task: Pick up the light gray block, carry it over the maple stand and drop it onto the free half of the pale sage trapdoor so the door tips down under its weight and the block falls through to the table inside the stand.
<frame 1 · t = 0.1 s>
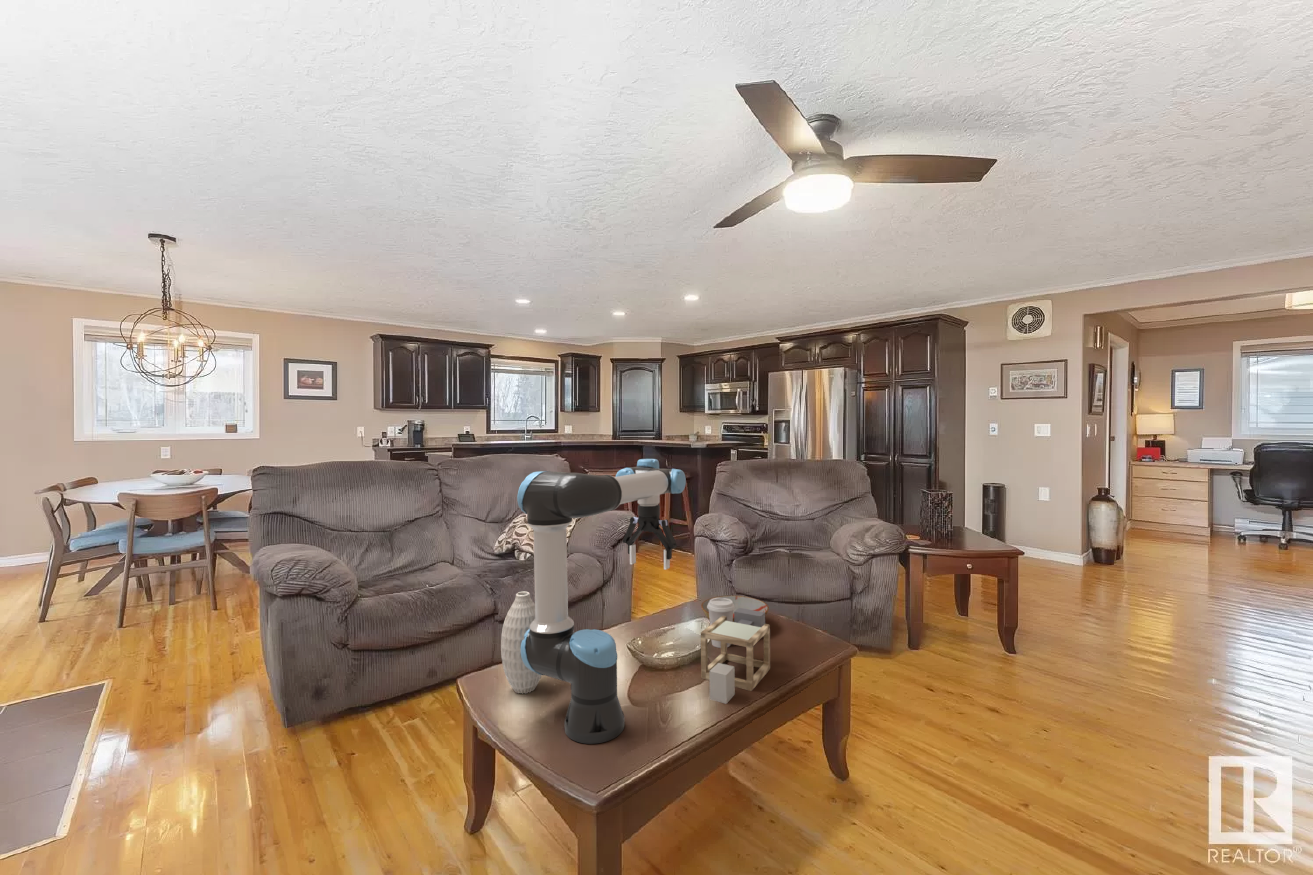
hand: (649, 566, 188), 28 cm above the table, fingers open, 13 cm apart
maple stand: (736, 673, 169), on the table
bowl: (734, 627, 207), on the table
trapdoor: (740, 627, 172), point 13 cm above the table, hinge at 0.0°
coffee cup: (721, 644, 191), on the table
vase: (524, 689, 161), on the table
light gray block: (722, 696, 155), on the table
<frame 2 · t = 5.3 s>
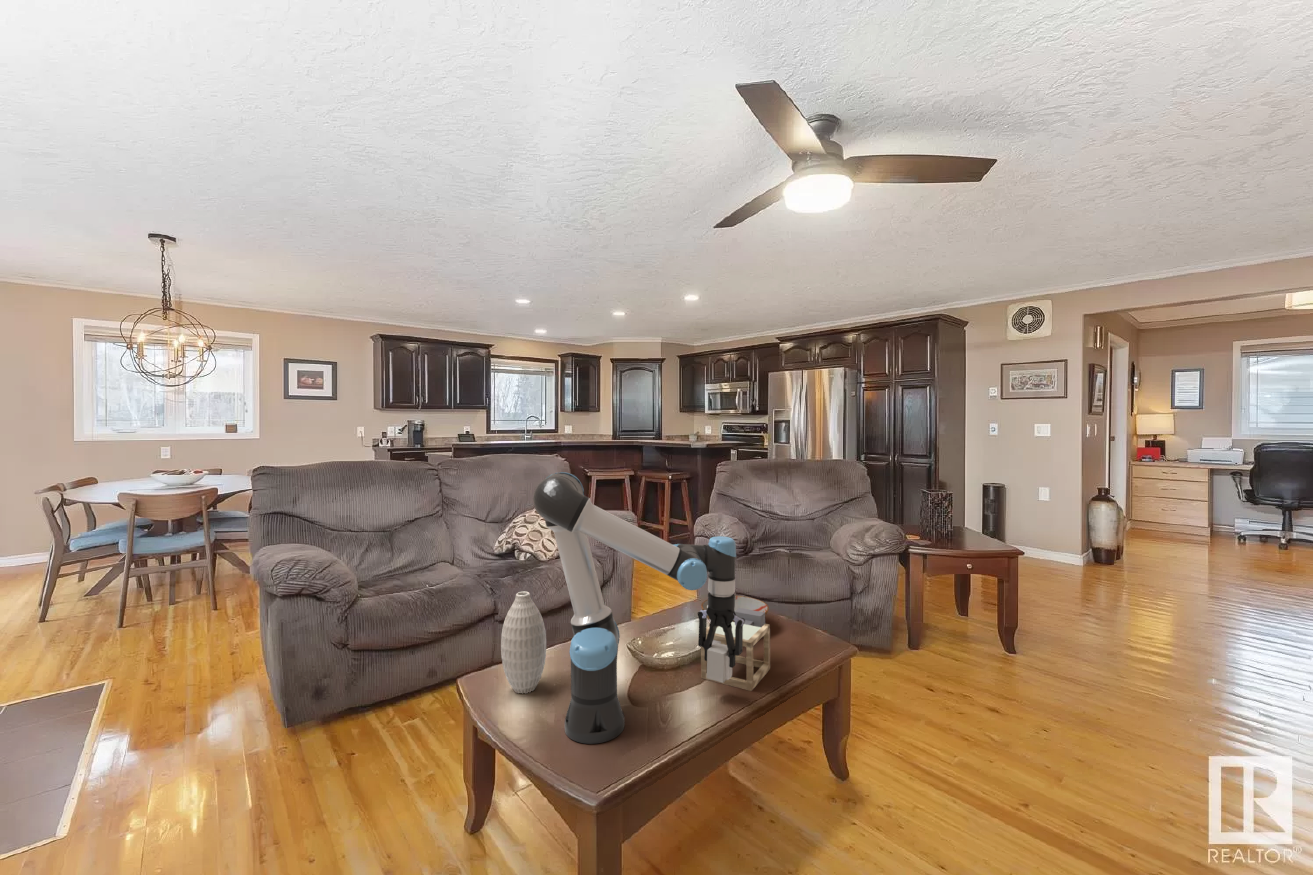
hand: (719, 674, 155), 6 cm above the table, fingers closed on light gray block, 5 cm apart
light gray block: (719, 676, 155), point 6 cm above the table, touching gripper
everything else where it was.
when the fingers open (16 cm above the table, at t = 8.2 s): light gray block drops 7 cm, resting on trapdoor.
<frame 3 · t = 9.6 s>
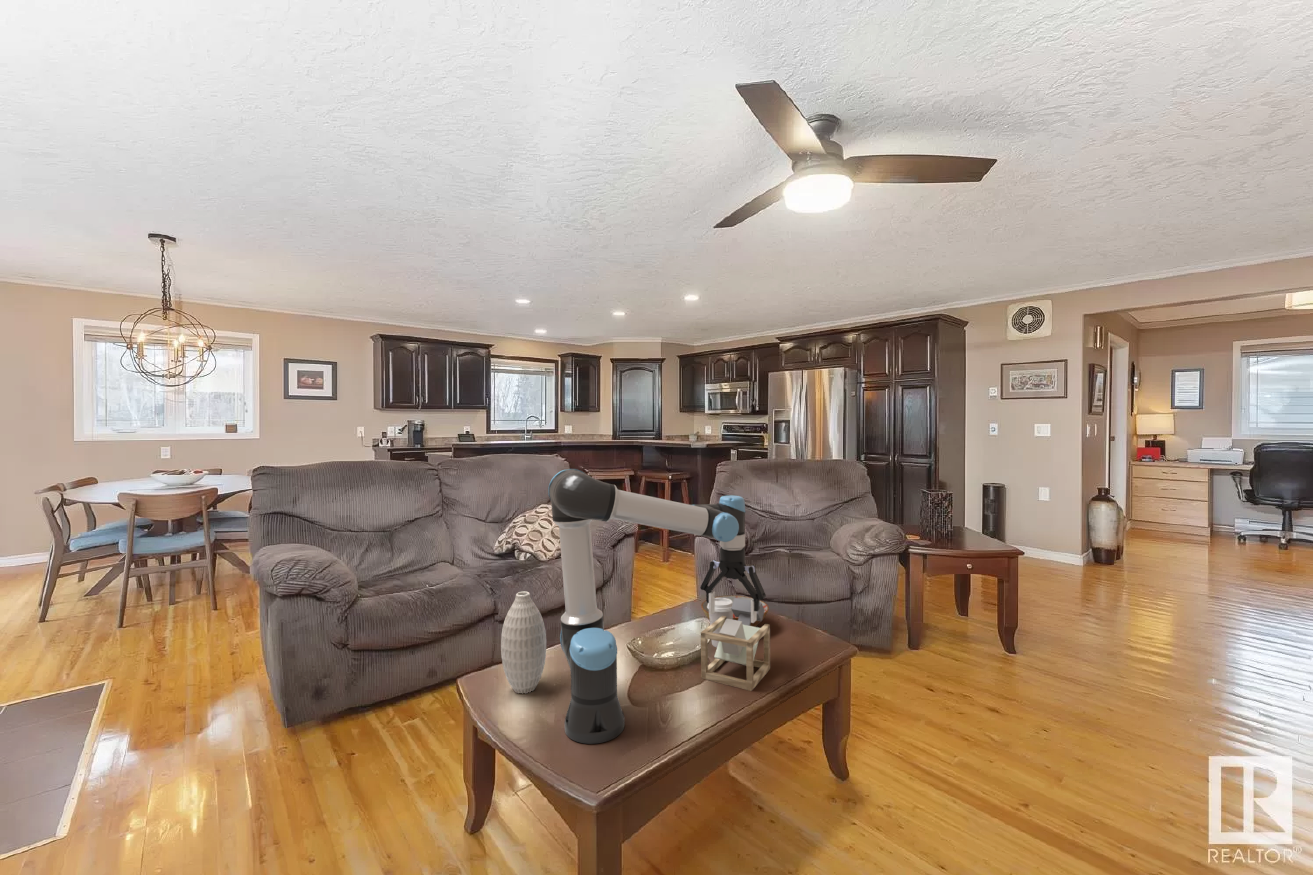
hand: (732, 617, 166), 18 cm above the table, fingers open, 13 cm apart
trapdoor: (741, 631, 172), point 11 cm above the table, hinge at -43.7°, touching light gray block
light gray block: (735, 646, 168), point 9 cm above the table, tilted 25°, touching trapdoor
everything else where it was.
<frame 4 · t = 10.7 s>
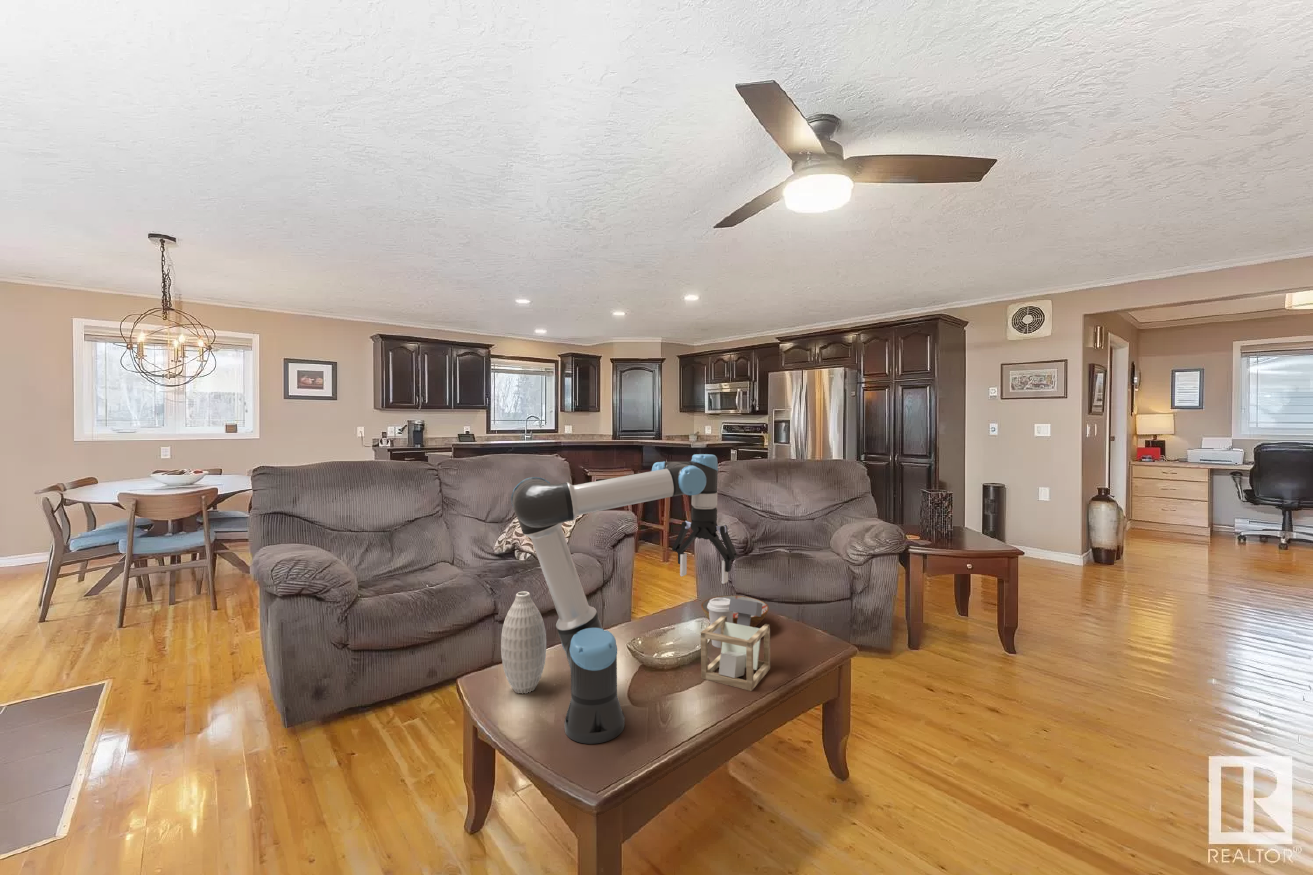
hand: (703, 578, 162), 31 cm above the table, fingers open, 13 cm apart
trapdoor: (742, 632, 173), point 11 cm above the table, hinge at -68.1°
light gray block: (737, 662, 170), point 3 cm above the table, tilted 73°, touching maple stand
everything else where it was.
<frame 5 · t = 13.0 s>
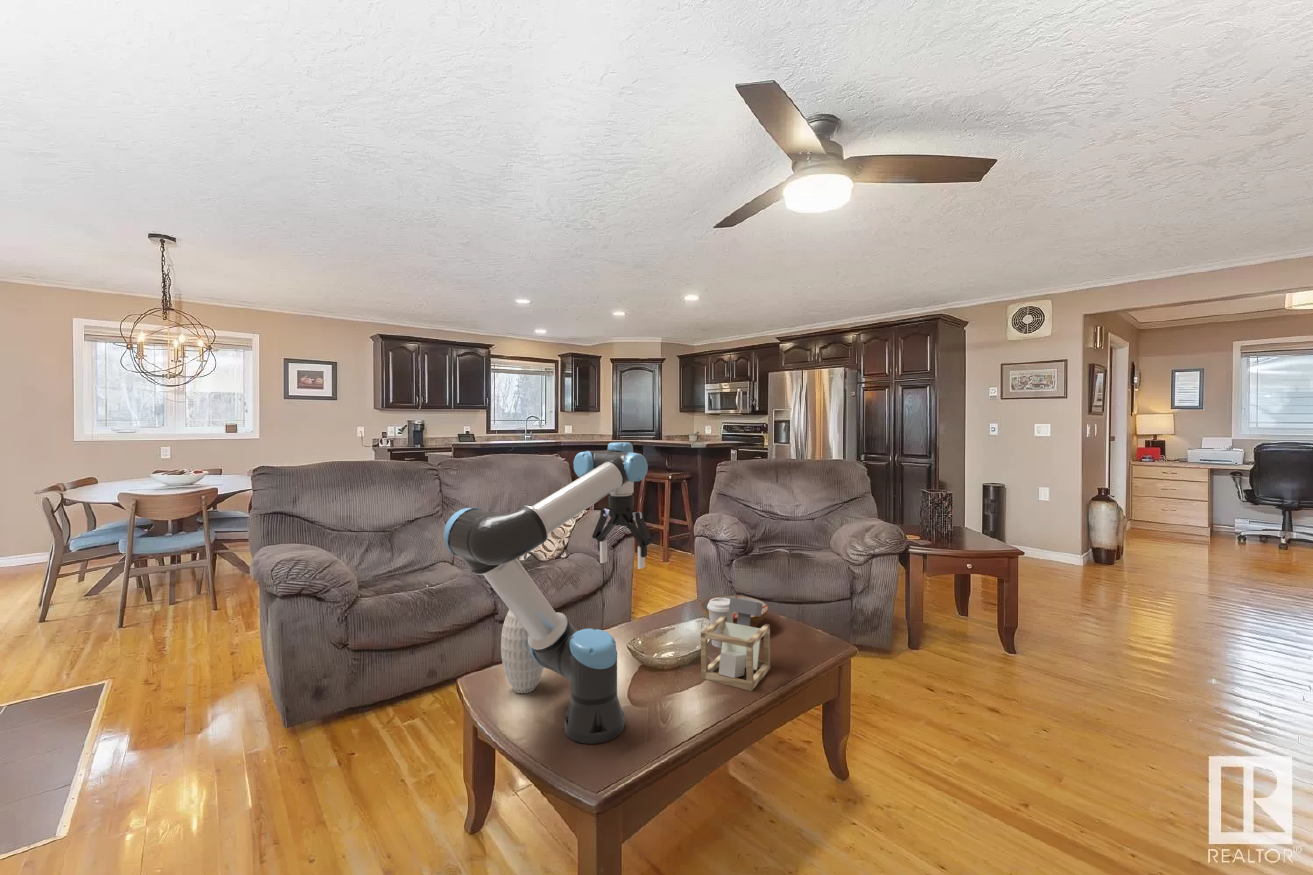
hand: (622, 565, 165), 35 cm above the table, fingers open, 13 cm apart
nothing on the table moved.
at the end: light gray block point 2.9 cm above the table; light gray block inside the target area (1.1 cm from its centre), point 2.9 cm above the table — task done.
